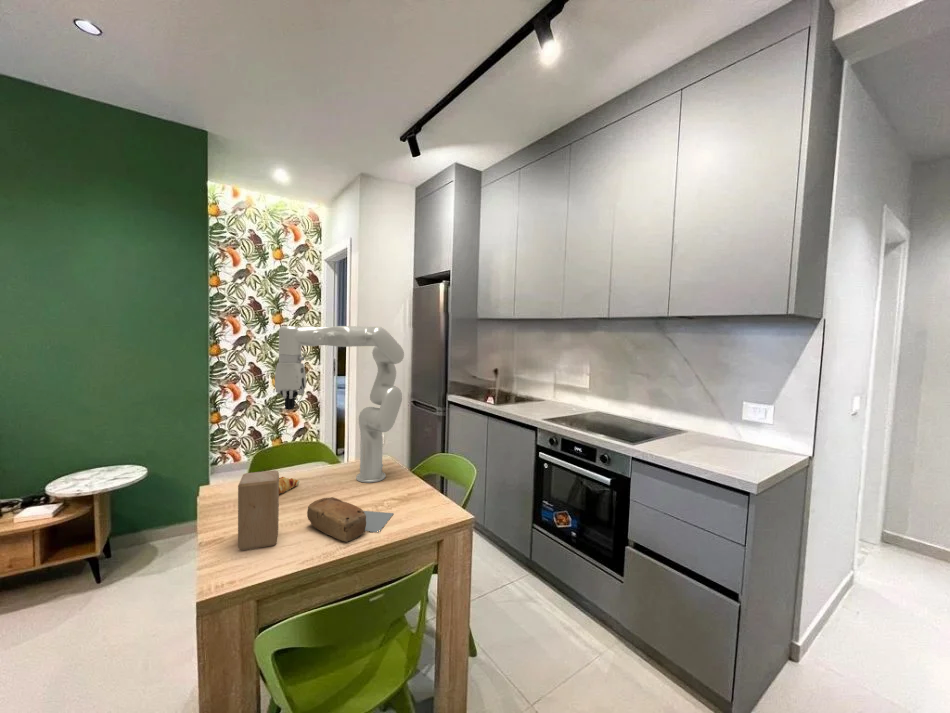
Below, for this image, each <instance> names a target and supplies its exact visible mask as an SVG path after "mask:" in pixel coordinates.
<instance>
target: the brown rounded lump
mask: <svg viewBox="0 0 950 713" xmlns="http://www.w3.org/2000/svg"><path fill="white" fill-rule="evenodd" d="M364 511H365V510H364V509H362V508H361V507H359V506H357V505H355V504H352V503H349V502H346V501H343V500H341V499H339V498H336V497H334V496H333V497H323V498H319V499H316V500H315V501H313V502H311V503H309V505H308V507H307V511H306V514H307V515H306V516H307V520H308V521H309V522H310V523H311V526H312V527H313V528H315V529H316V530H318V531H319V532H322V533H324V534H326V535H328V536H331V537H332V538H334V539H336V540H339V541H342V542H348V541H349V542H351V541H353V540H354V539H357V538H359V537H360V536H362V535H363V534H365V533H366V532H365V527H366V515H365V513H364ZM352 539H353V540H352Z"/></svg>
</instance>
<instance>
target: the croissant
mask: <svg viewBox="0 0 950 713" xmlns="http://www.w3.org/2000/svg"><path fill="white" fill-rule="evenodd" d="M299 484H300V479H295V478H293V477H291V478H288V477H285V476H280V477H279V494H280V493H282V494H284V493H286V492H287V491H290V490H292V489H293V488H295V486H296V487H297V486H298V485H299ZM291 488H292V489H291ZM289 489H290V490H289ZM285 491H286V492H285ZM280 495H281V494H280Z"/></svg>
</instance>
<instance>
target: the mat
mask: <svg viewBox="0 0 950 713" xmlns="http://www.w3.org/2000/svg"><path fill="white" fill-rule="evenodd" d="M363 511H364V513H365V515H366V527H365V531H370V532H369V533H373V532H377V531H378V532H379V530H380V532H381V531H382V530H383V529H382V527H383V528H385V526H386V525H387V523H388V522H389V521H388V520H390V519H391V518H392V517H391V516H393V515H394V513H393V512H382V511H370V510H363ZM390 517H391V518H390ZM387 521H388V522H387ZM385 524H386V525H385ZM384 525H385V526H384ZM381 529H382V530H381Z"/></svg>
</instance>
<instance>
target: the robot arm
mask: <svg viewBox="0 0 950 713" xmlns="http://www.w3.org/2000/svg"><path fill="white" fill-rule="evenodd" d="M304 346H305V347H317V346H328V347H329V346H331V347H339V348H341V347H342V348H343V347H346V348H347V347H348V348H349V347H351V348H352V347H373V348H372V352H371V353H372V358H373V360H374V361H375V363H376V366H377V373H376V376H375V380H374V382H373V385H372V388H371V390H370V394H369V400H370V401H371V403H373V404H375V405H377V406H379V407H377V406H376V407H375V406H366V407H364V408H363V409H362V410H361V411H360V412H359V415H358V425H359V433H360V434H359V436H360V445H359V446H360V451H359V455H360V456H359V460H360V461H359V473H358V474H357V475H356V478H355V479H356V480H357V481H358V482H360V483H366V484H367V483H368V484H371V483H377V482H381V481H383V480H385V479H386V473H385V472H384V471H383V467H384V463H383V445H384V444H383V443H384V439H383V436H384V435H383V433H386V432H389V431H391V429H393V427H394V425H395V423H396V420H397V417H398V414H399V412H400V409H401V405H402V401H403V393H402V391H401V389H400V388H399V387H398V386H396V385H395V381H396V378H397V369H396V366H395V365H397V364H400V363H401V362H402V361H403V359H404V358H405V352H404V348H403V346H401V344H399V343H398V341H397V340H396V339H395V338H394V336H392V334H390V333H389V332H388V331H387V330H386V329H385V328H384V327H382V326H357V325H356V326H353V325H335V326H296V325H293V326H292V325H283V326H280V327H279V329H278V362H277V364H276V368H275V374H274V375H275V376H274V387H275V393H277V394H280V395H281V396H282V397H283V399H284V409H285V410H287V411H289V410H292V409H293V410H294V409H295V407H296V404H295V403H296V401H295V400H296V399H297V397H298V396H299V395H301V394H305V389H306V388H307V377H306V376H307V375H306V368H305V364H304V363H303V361H305V356H302V347H304Z"/></svg>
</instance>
